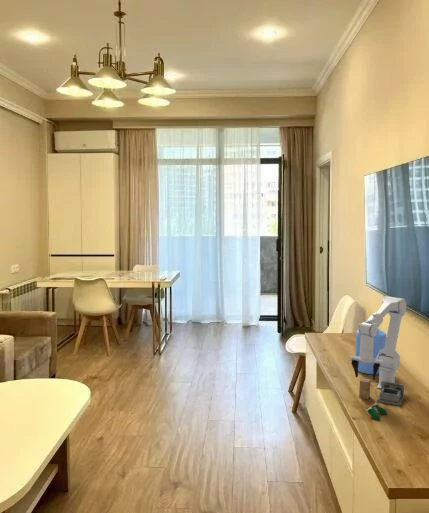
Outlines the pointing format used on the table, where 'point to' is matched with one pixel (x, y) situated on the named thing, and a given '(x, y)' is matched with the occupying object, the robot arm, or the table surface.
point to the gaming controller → (376, 411)
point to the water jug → (377, 346)
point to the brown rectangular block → (364, 388)
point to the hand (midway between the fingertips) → (365, 378)
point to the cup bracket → (391, 393)
